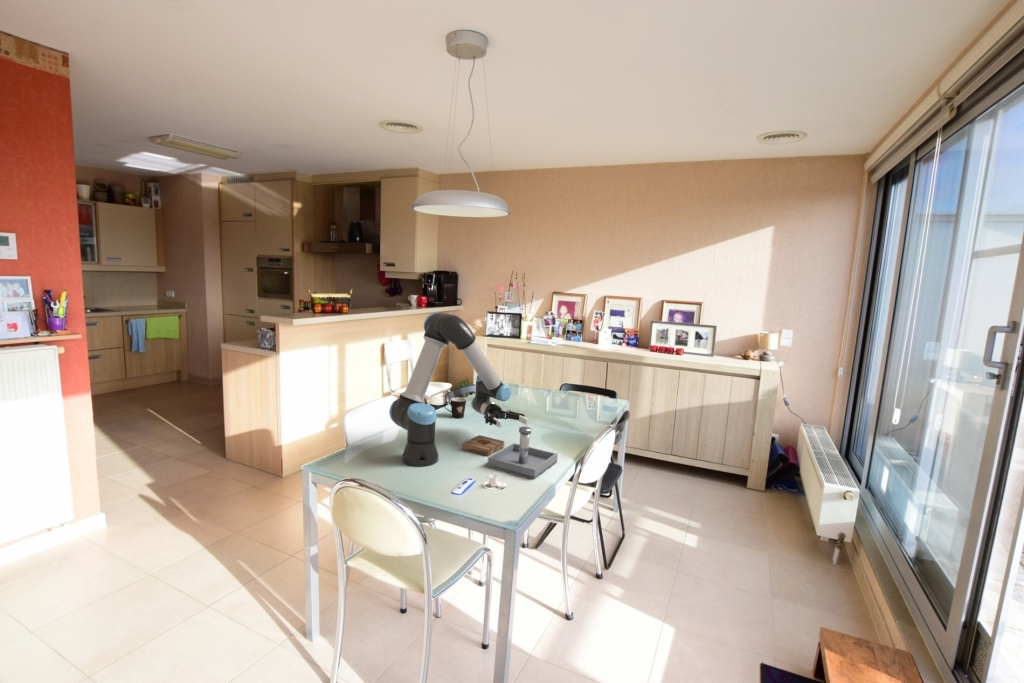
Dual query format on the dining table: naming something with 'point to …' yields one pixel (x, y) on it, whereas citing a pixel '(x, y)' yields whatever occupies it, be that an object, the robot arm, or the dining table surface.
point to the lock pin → (524, 444)
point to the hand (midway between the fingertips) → (514, 423)
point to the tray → (510, 463)
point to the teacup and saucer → (494, 483)
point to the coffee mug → (457, 407)
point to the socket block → (483, 445)
